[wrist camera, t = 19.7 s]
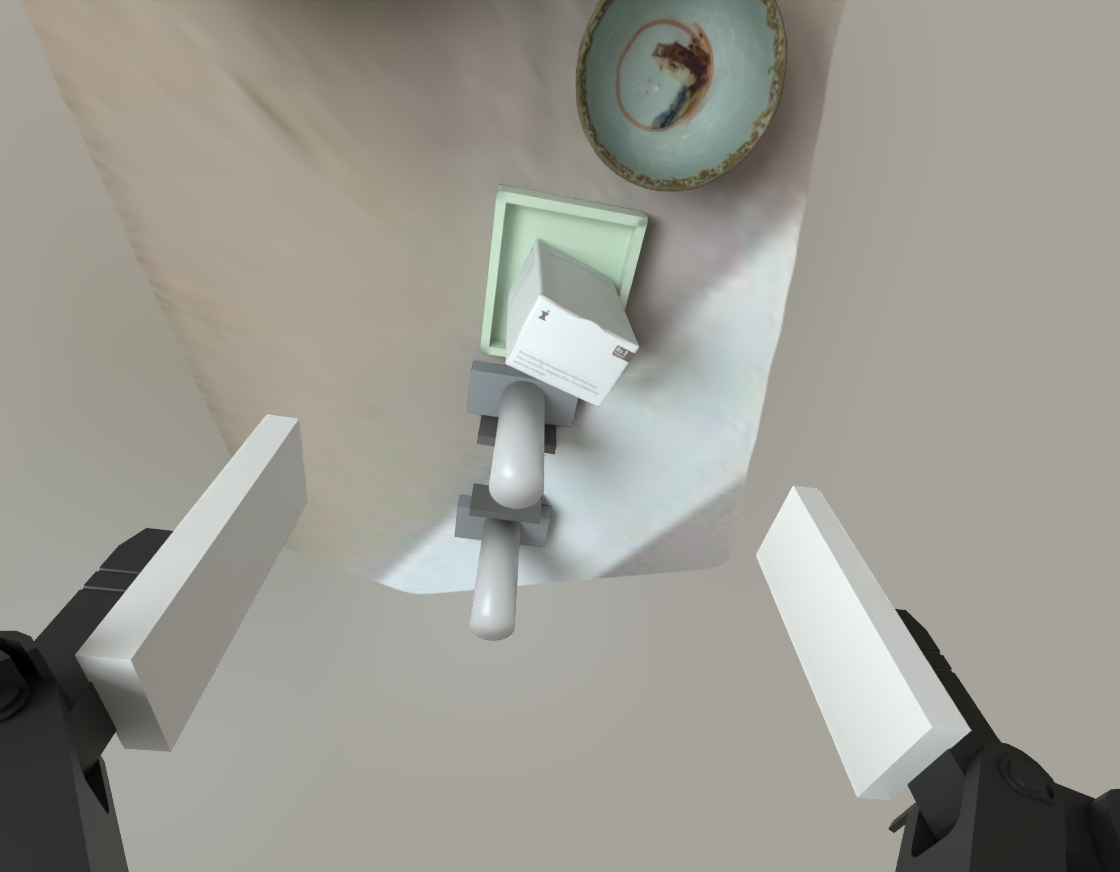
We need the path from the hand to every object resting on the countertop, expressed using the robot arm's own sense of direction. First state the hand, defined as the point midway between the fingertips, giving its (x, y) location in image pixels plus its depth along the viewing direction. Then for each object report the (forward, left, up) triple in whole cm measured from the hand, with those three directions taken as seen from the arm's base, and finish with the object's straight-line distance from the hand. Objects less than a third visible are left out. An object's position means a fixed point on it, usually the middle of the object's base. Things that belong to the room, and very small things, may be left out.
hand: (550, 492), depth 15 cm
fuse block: (0, -28, -39) cm, 48 cm away
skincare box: (+2, -7, -38) cm, 39 cm away
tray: (+2, -7, -39) cm, 39 cm away
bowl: (+7, +10, -39) cm, 41 cm away
